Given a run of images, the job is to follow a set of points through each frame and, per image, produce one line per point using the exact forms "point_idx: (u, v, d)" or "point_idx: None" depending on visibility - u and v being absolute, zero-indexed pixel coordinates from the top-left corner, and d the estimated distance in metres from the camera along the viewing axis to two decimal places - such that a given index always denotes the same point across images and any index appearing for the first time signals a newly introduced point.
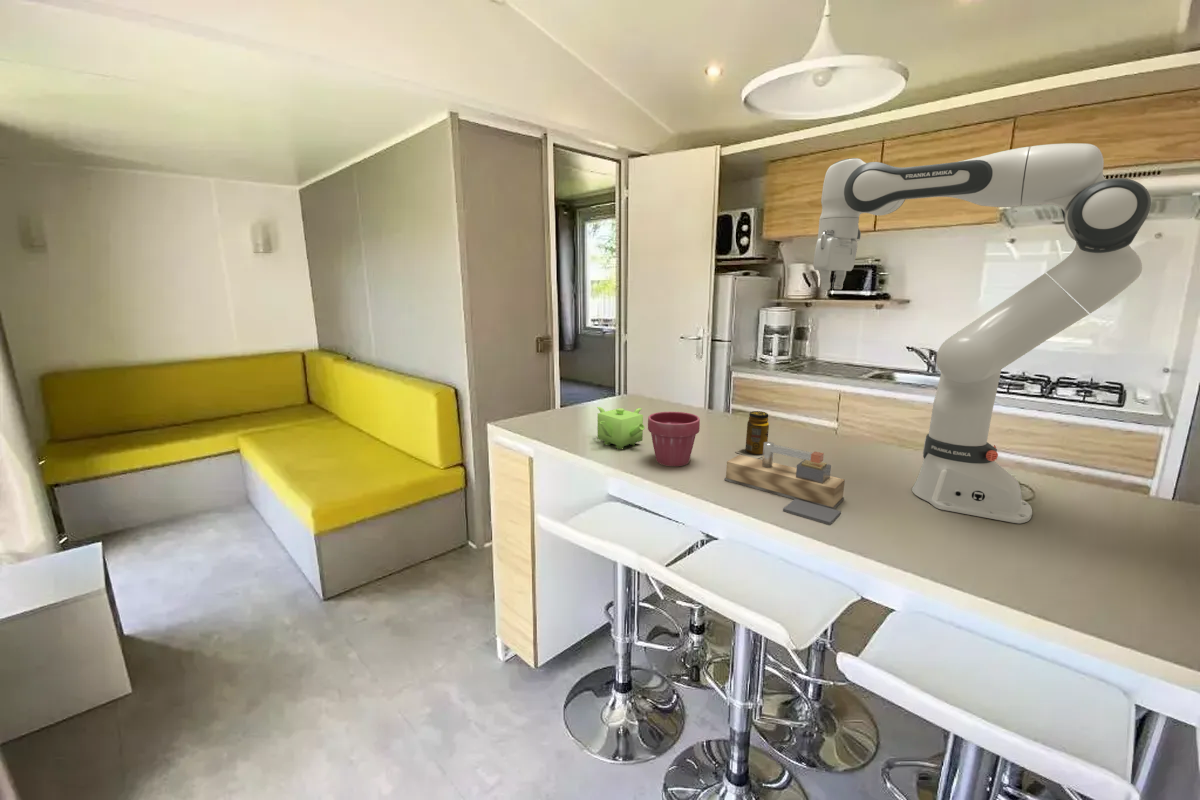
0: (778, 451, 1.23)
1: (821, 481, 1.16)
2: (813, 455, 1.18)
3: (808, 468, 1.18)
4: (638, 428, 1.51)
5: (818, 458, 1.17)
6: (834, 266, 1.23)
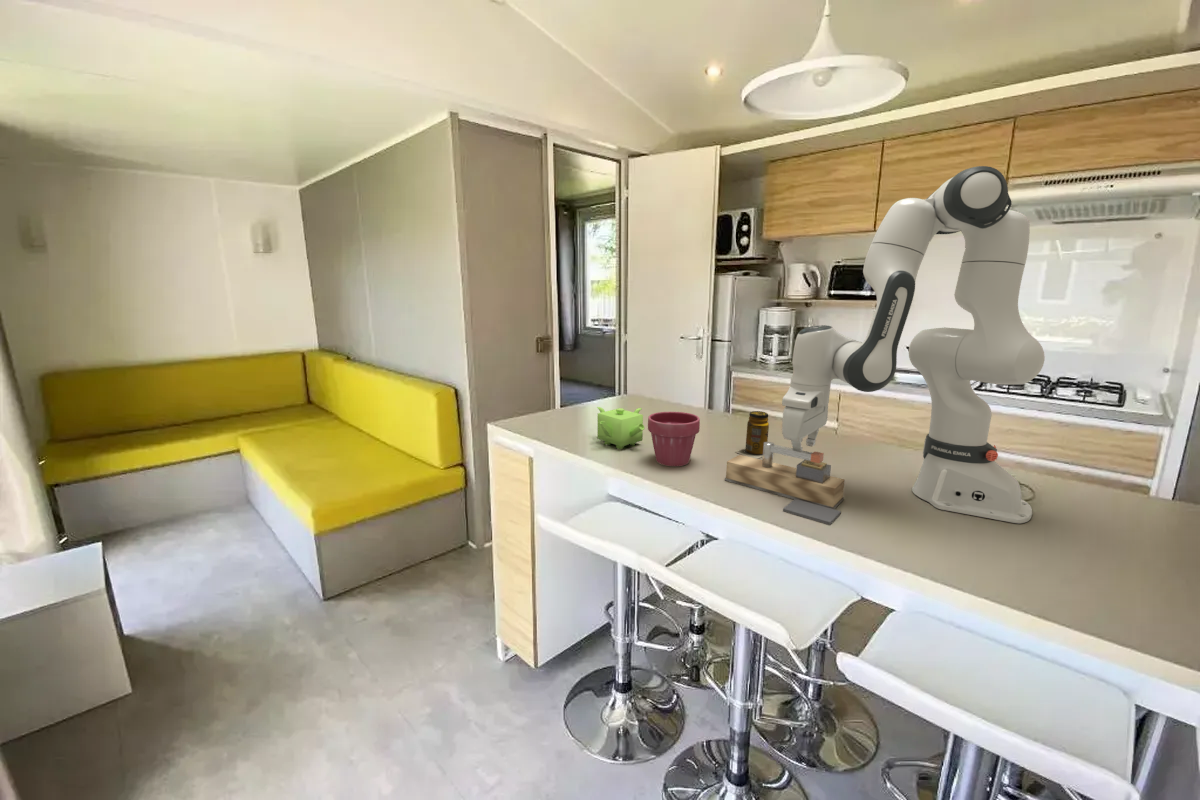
0: (778, 451, 1.23)
1: (821, 481, 1.16)
2: (813, 455, 1.18)
3: (808, 468, 1.18)
4: (638, 428, 1.51)
5: (818, 458, 1.17)
6: None
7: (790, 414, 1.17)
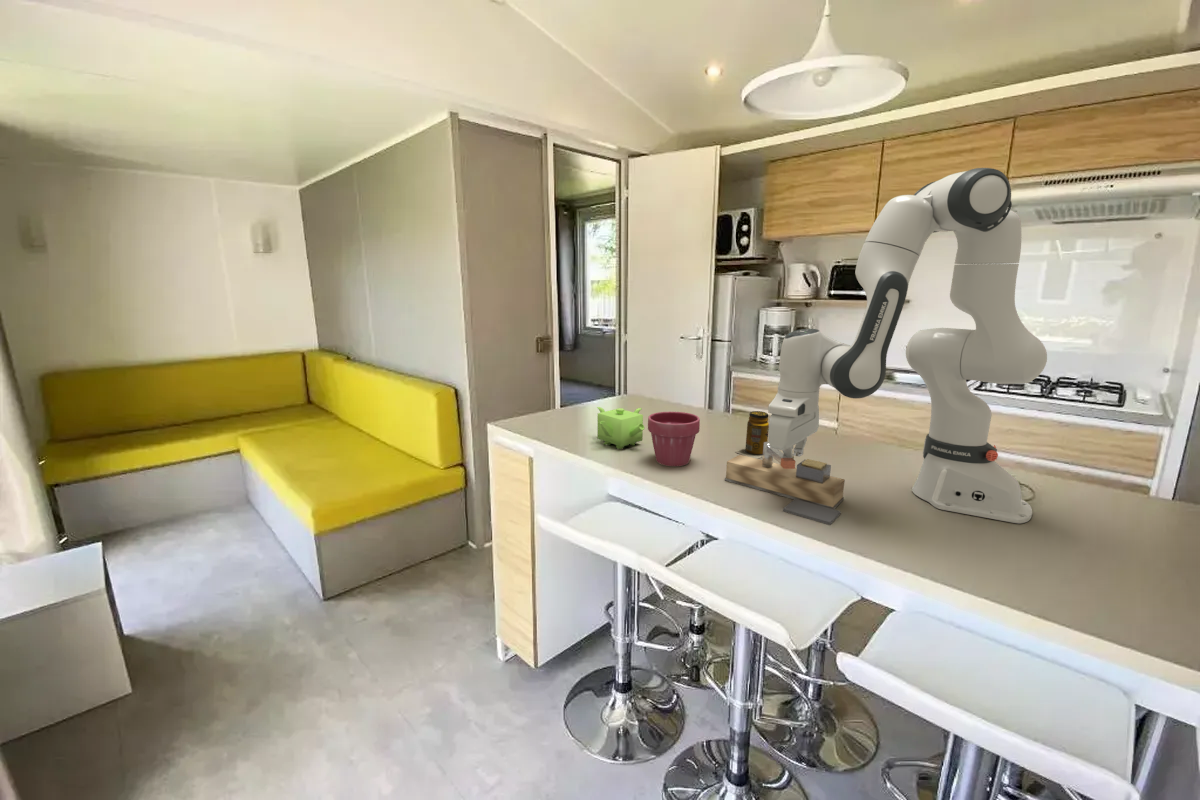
0: (769, 452, 1.23)
1: (821, 481, 1.16)
2: (782, 459, 1.15)
3: (808, 468, 1.18)
4: (638, 428, 1.51)
5: (784, 463, 1.14)
6: None
7: (776, 422, 1.12)
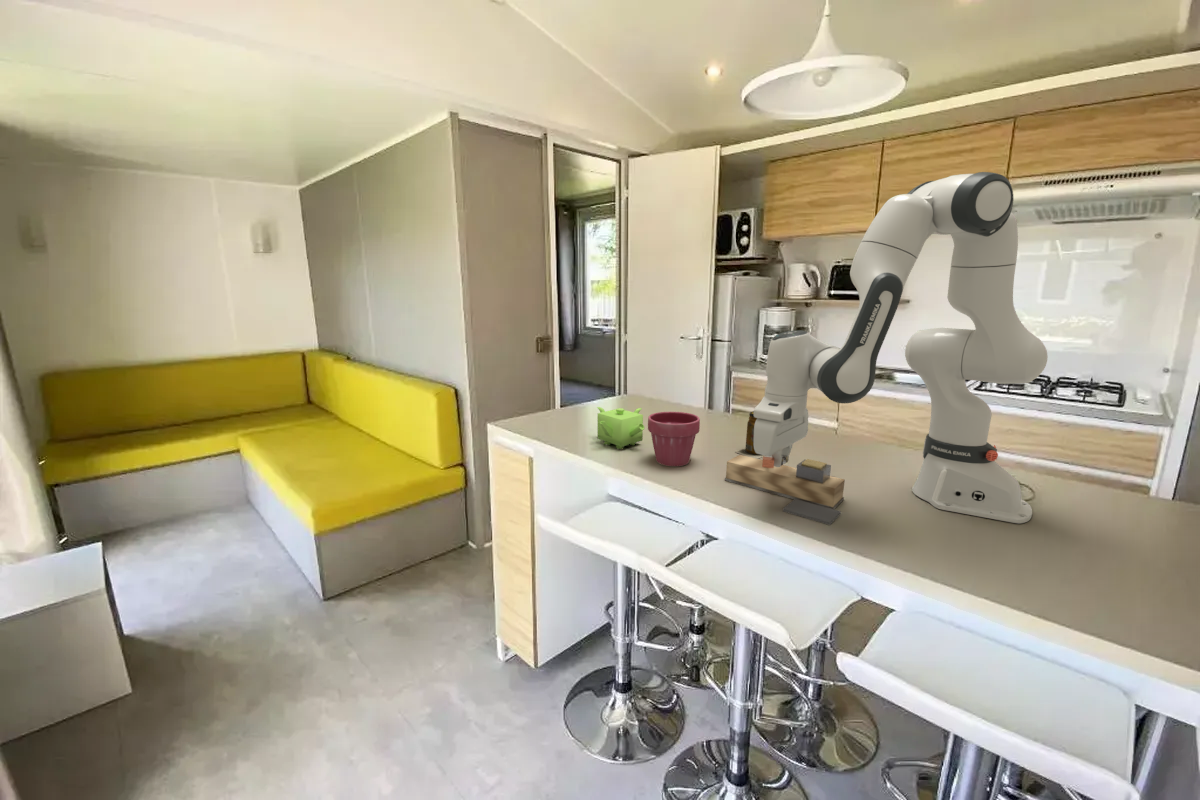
0: None
1: (821, 481, 1.16)
2: None
3: (808, 468, 1.18)
4: (638, 428, 1.51)
5: (762, 461, 1.15)
6: None
7: (762, 427, 1.08)
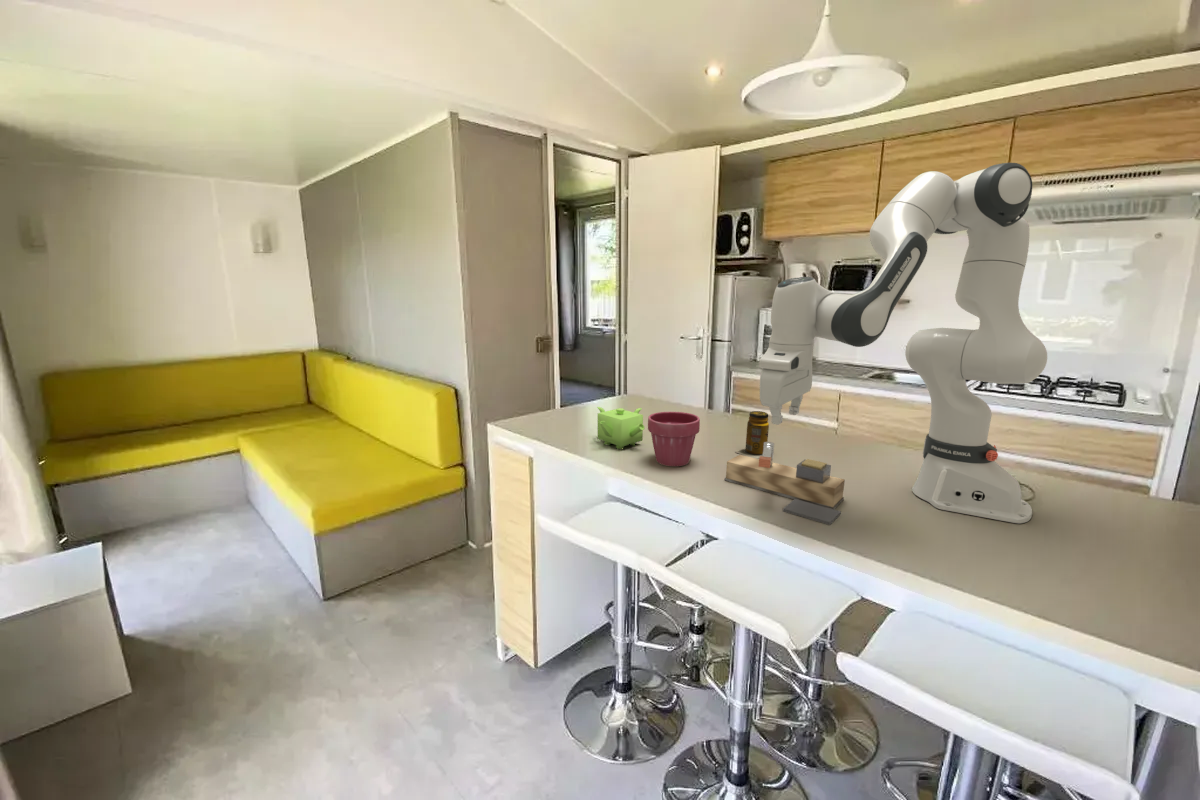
0: None
1: (821, 481, 1.16)
2: None
3: (808, 468, 1.18)
4: (638, 428, 1.51)
5: (759, 461, 1.15)
6: None
7: (768, 377, 1.04)
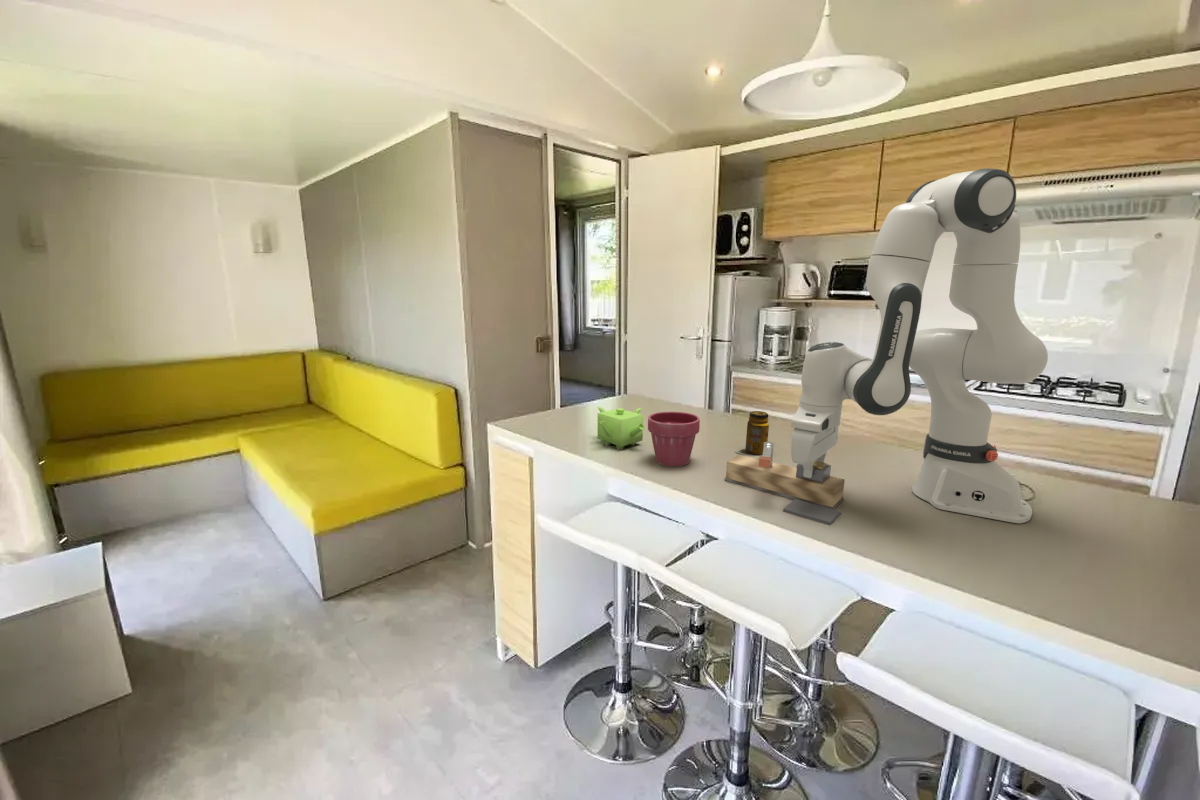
0: None
1: (821, 481, 1.16)
2: None
3: None
4: (638, 428, 1.51)
5: (759, 461, 1.15)
6: None
7: (800, 436, 1.11)
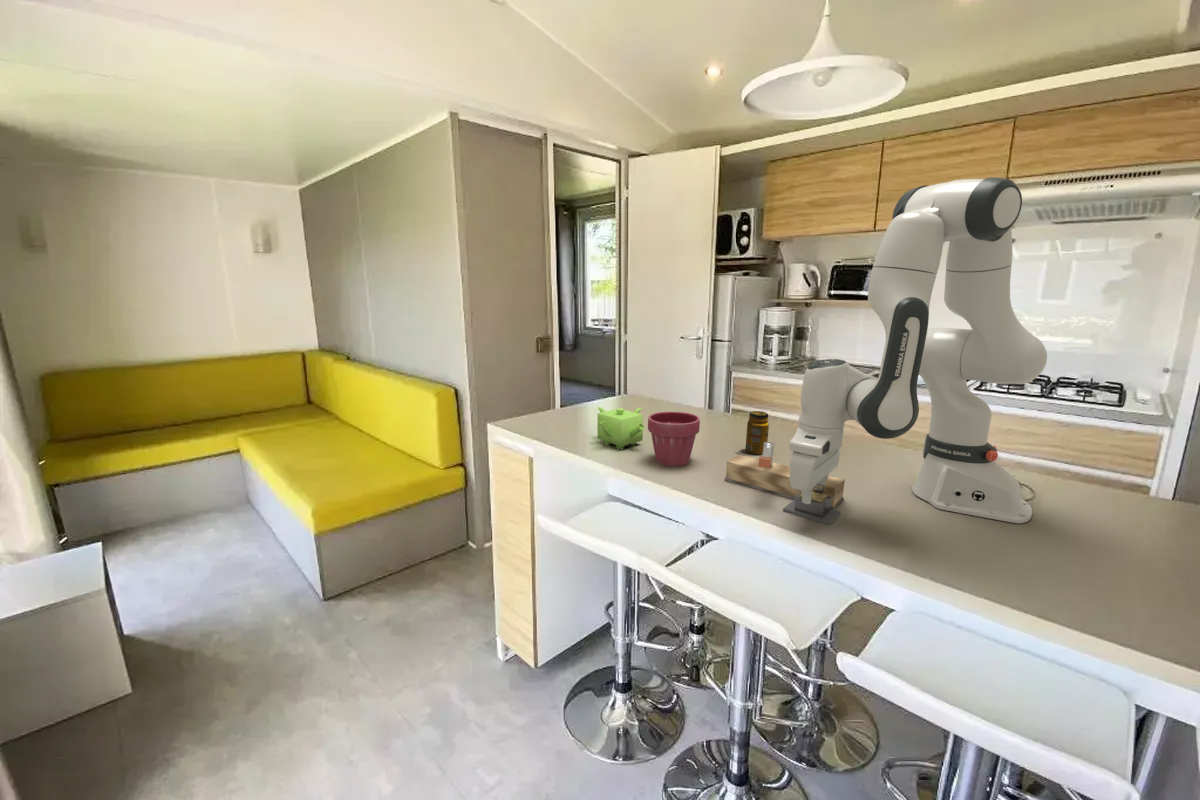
0: None
1: (821, 515, 1.09)
2: None
3: None
4: (638, 428, 1.51)
5: (759, 461, 1.15)
6: None
7: (799, 461, 1.03)
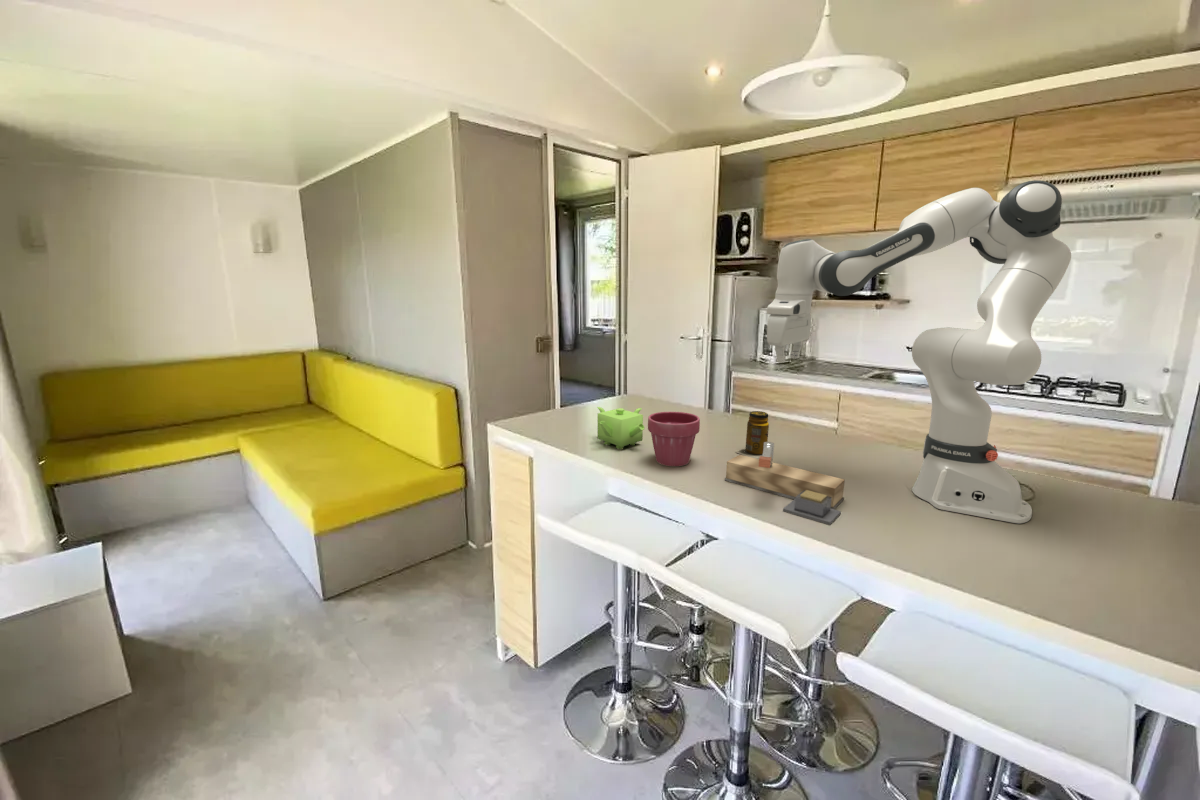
0: None
1: (821, 515, 1.09)
2: None
3: (807, 501, 1.11)
4: (638, 428, 1.51)
5: (759, 461, 1.15)
6: None
7: (774, 320, 1.26)
